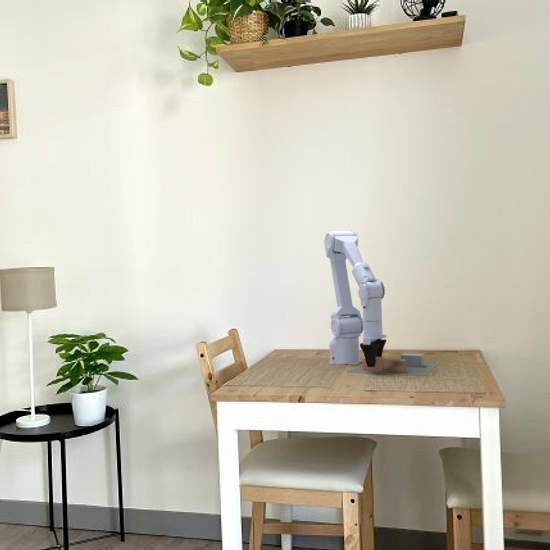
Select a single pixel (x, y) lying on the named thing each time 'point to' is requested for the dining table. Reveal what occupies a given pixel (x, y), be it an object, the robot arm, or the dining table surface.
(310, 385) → the dining table surface
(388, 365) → the brick walnut
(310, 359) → the dining table surface
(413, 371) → the felt mat
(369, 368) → the brick terracotta
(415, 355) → the brick slate
